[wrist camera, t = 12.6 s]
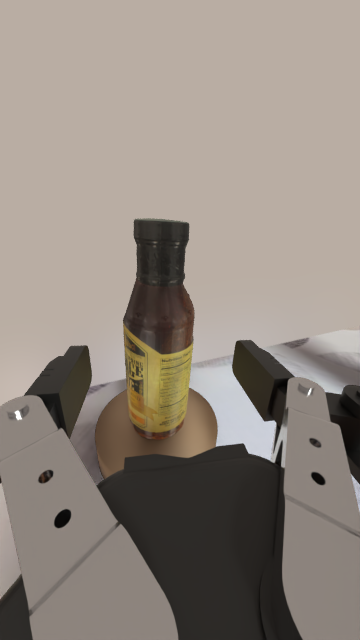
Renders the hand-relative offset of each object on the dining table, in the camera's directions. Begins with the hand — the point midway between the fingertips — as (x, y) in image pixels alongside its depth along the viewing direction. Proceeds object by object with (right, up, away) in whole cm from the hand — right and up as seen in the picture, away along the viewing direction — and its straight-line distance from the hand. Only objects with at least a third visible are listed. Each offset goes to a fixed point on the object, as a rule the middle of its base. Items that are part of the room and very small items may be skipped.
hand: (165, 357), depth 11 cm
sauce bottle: (-2, -9, +11) cm, 15 cm away
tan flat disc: (-2, -12, +13) cm, 17 cm away
